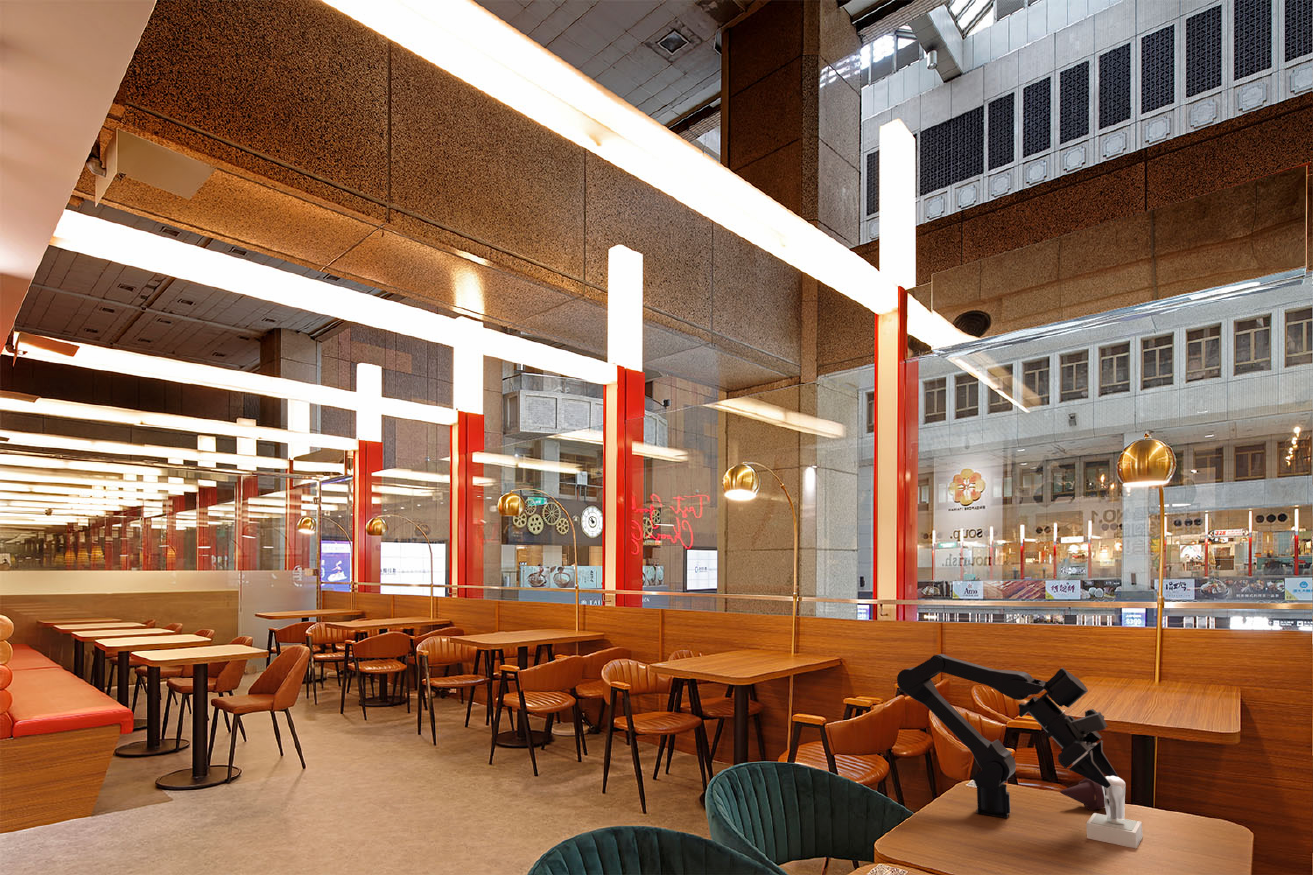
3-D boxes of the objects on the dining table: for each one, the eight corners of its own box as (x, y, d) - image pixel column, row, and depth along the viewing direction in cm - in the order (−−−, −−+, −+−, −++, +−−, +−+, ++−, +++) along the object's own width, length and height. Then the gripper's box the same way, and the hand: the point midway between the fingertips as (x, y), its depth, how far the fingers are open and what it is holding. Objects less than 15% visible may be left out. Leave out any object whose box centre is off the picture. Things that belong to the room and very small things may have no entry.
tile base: (1087, 838, 166) (1086, 822, 166) (1095, 827, 173) (1094, 812, 173) (1136, 848, 160) (1135, 831, 161) (1142, 836, 167) (1141, 821, 168)
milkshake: (1101, 816, 171) (1098, 767, 172) (1129, 821, 167) (1126, 772, 169) (1097, 820, 167) (1094, 771, 169) (1126, 826, 164) (1122, 776, 165)
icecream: (1072, 786, 182) (1133, 791, 183) (1054, 769, 189) (1112, 774, 191) (1067, 814, 183) (1127, 819, 184) (1049, 796, 190) (1107, 801, 191)
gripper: (1071, 703, 167) (1135, 767, 158) (1088, 692, 181) (1147, 751, 173) (1033, 736, 170) (1093, 800, 162) (1053, 723, 185) (1109, 781, 176)
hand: (1112, 782), depth 168 cm, fingers open, 9 cm apart
